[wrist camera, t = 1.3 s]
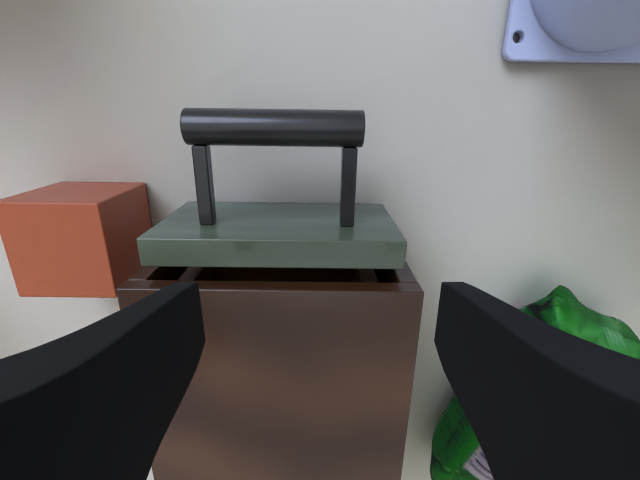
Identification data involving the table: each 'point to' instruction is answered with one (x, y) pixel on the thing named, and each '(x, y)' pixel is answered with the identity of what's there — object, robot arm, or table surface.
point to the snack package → (555, 309)
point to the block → (74, 237)
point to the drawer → (274, 209)
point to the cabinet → (293, 378)
